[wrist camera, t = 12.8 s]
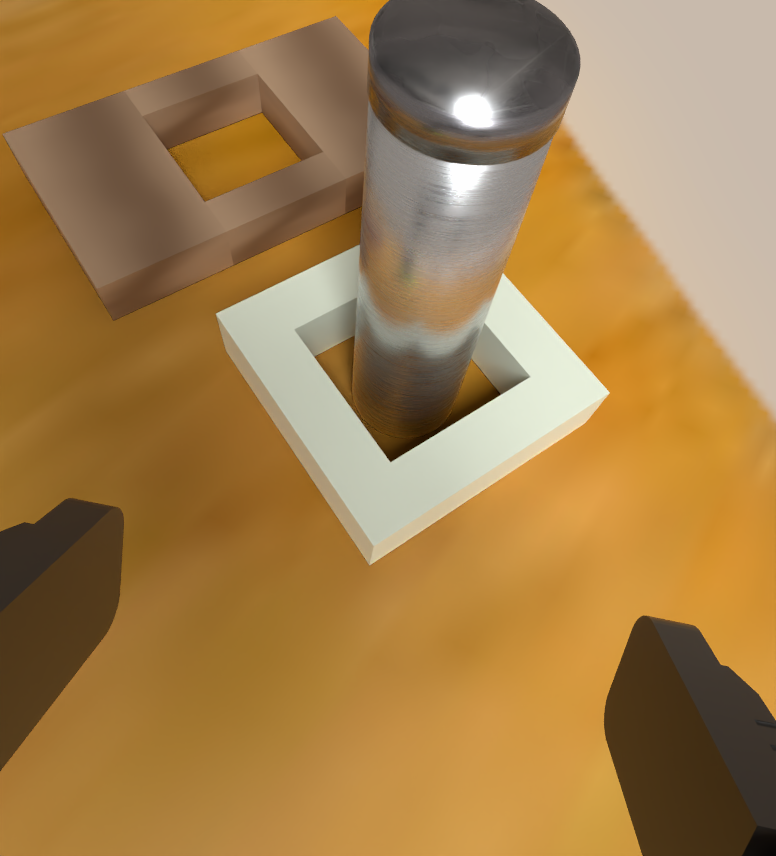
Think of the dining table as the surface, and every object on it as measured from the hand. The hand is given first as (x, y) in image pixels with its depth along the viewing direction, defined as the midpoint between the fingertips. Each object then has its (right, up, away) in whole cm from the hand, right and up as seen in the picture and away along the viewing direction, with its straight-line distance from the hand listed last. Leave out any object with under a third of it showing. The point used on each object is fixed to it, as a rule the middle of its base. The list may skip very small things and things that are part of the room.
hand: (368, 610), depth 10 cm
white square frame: (+1, +4, +15) cm, 16 cm away
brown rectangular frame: (-6, +14, +19) cm, 25 cm away
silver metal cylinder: (+1, +4, +15) cm, 16 cm away
